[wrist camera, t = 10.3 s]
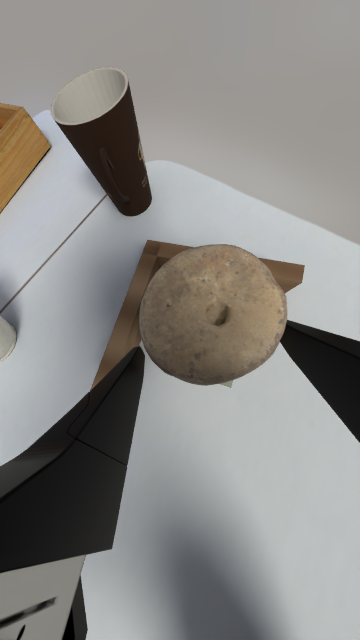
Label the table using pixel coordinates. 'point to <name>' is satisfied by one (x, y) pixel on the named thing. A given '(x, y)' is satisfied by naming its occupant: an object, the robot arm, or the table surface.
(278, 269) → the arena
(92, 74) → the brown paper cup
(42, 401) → the table surface
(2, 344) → the lidded jar
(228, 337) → the carving
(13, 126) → the tray
